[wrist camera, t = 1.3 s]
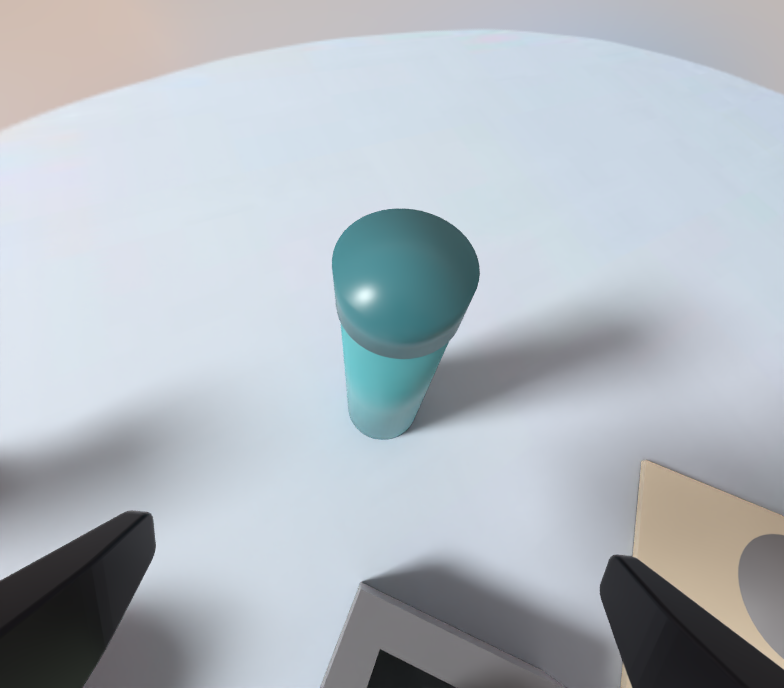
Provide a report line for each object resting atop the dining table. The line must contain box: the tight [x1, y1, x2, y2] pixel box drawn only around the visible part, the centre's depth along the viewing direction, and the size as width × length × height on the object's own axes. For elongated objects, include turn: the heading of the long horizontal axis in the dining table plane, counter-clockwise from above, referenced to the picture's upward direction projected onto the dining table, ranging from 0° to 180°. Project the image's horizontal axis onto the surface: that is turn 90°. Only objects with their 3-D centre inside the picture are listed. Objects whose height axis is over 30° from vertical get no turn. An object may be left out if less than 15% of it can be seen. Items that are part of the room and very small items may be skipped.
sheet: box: [620, 460, 784, 688], centre depth 17 cm, size 16×12×1 cm
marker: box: [332, 209, 480, 440], centre depth 17 cm, size 4×4×13 cm
